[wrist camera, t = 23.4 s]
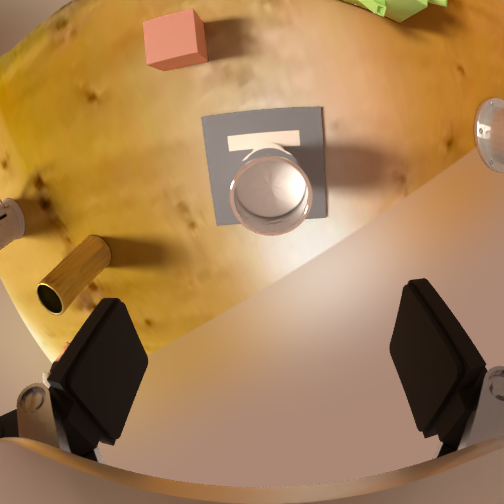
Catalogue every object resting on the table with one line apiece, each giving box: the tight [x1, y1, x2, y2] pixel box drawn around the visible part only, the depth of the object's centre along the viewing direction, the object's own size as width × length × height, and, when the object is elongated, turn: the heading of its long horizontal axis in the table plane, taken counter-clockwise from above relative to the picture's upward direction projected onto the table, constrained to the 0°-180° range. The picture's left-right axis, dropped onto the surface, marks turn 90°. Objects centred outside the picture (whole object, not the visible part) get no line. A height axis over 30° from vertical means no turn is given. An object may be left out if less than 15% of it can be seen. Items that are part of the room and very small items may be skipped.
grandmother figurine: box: [43, 342, 69, 387], centre depth 50 cm, size 8×4×13 cm, turn 146°
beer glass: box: [229, 143, 313, 236], centre depth 29 cm, size 7×7×15 cm
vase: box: [36, 235, 111, 315], centre depth 37 cm, size 6×6×14 cm
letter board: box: [201, 107, 326, 226], centre depth 36 cm, size 15×15×1 cm
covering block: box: [143, 9, 208, 71], centre depth 26 cm, size 6×6×6 cm
